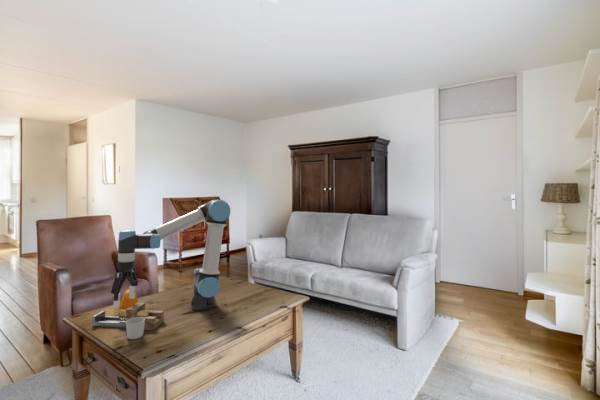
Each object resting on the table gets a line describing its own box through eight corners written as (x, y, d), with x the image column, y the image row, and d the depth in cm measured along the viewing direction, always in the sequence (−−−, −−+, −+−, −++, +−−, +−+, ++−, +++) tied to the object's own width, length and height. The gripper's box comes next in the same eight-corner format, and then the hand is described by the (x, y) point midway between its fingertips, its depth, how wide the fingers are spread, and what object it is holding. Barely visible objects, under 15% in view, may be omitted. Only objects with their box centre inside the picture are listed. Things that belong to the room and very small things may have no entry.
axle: (150, 316, 167) (149, 308, 166) (146, 321, 163) (145, 313, 161) (123, 315, 167) (122, 308, 166) (119, 320, 163) (118, 312, 162)
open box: (163, 321, 170) (164, 303, 170) (153, 329, 159) (154, 310, 159) (137, 320, 170) (137, 302, 170) (125, 328, 159) (126, 309, 159)
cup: (132, 331, 157) (132, 314, 157) (149, 331, 158) (149, 314, 158) (122, 341, 146) (122, 323, 146) (140, 341, 147) (140, 323, 147)
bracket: (123, 316, 176) (124, 294, 176) (118, 313, 180) (118, 291, 180) (143, 311, 184) (143, 290, 184) (137, 308, 189) (138, 287, 188)
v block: (135, 321, 169) (135, 311, 169) (126, 327, 161) (126, 317, 161) (102, 320, 169) (103, 310, 169) (92, 326, 161) (92, 316, 161)
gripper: (132, 256, 177) (130, 294, 177) (103, 265, 152) (101, 310, 152) (145, 256, 177) (144, 295, 177) (119, 266, 152) (117, 311, 152)
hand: (124, 302), depth 165 cm, fingers open, 13 cm apart
